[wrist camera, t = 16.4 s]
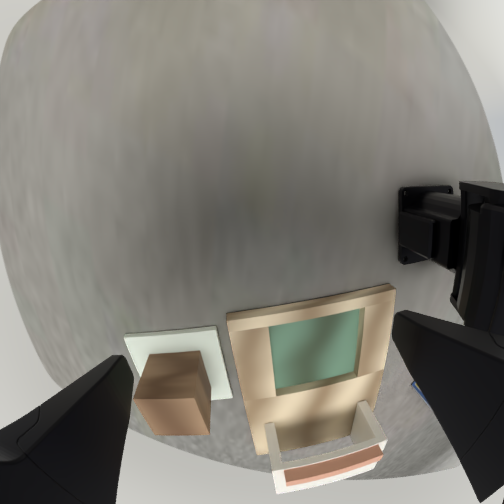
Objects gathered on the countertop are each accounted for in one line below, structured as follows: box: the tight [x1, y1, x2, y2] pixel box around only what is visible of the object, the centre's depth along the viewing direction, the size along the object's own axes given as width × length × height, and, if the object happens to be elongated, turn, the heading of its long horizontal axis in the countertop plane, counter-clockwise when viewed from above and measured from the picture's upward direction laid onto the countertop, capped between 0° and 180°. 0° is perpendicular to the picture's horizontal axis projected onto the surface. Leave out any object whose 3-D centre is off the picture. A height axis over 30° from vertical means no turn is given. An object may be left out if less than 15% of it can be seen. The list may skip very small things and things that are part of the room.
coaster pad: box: [124, 326, 233, 400], centre depth 22 cm, size 8×8×1 cm
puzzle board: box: [226, 284, 396, 455], centre depth 23 cm, size 14×20×1 cm
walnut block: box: [133, 350, 211, 435], centre depth 19 cm, size 4×4×6 cm
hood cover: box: [264, 400, 388, 494], centre depth 21 cm, size 11×7×7 cm, turn 97°
